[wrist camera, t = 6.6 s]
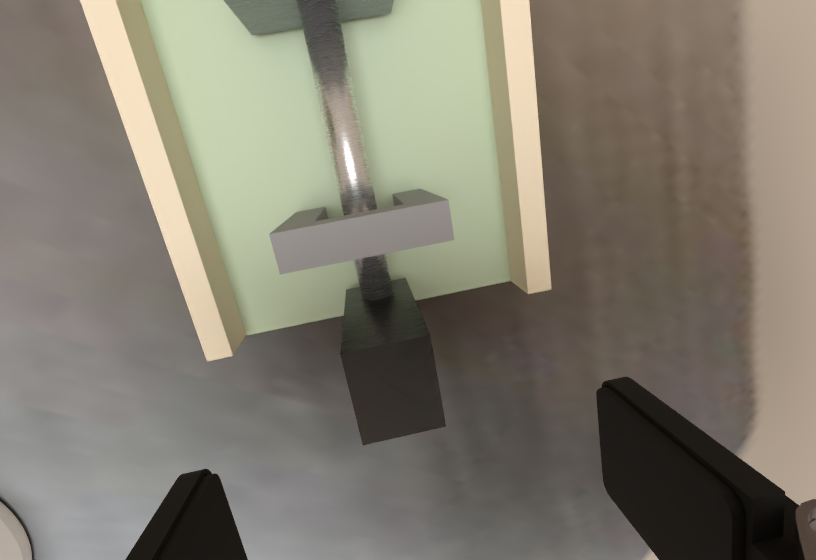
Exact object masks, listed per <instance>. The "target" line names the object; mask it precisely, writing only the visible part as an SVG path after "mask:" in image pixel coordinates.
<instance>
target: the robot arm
mask: <svg viewBox="0 0 816 560" xmlns="http://www.w3.org/2000/svg"><path fill="white" fill-rule="evenodd" d="M597 408H598V421H599V434H600V447H601V460H602V473H603V482H604V486H605V488H606V491H607V493H608V494H609V496H610V497H611V499H612V500H613V501H614V502H615V504H616V505H617V506H618V508H619V509H620V510H621V511H622V513H623V514H624V515H625V517H626V518H627V519H628V520H629V522H630V523H631V524H632V526H633V527H634V528H635V529H636V531H637V532H638V533H639V534H640V536H641V537H642V538H643V540H644V541H645V542H646V543H647V545H648V546H649V547H650V549H651V550H652V551H653V552H654V554H655V555H656V556H657V558H658V559H659V560H816V499H812V500H809V501H806V502H804V503H801V505H800V506H799V505H798V504H796V503H795V502H794V501H792V500H791V499H790V498H788V497H787V496H786V495H785V491H783V490H782V489H781V488H779V487H778V486H777V485H775V484H774V483H772V482H771V481H770V480H768V479H767V478H766V477H764V476H763V475H762V474H760V473H759V472H757V471H756V470H755V469H753V468H752V467H751V466H749V465H748V464H747V463H745V462H744V461H743V460H741V459H740V458H738V457H737V456H736V455H734V454H733V453H732V452H730V451H729V450H728V449H726V448H725V447H723V446H722V445H721V444H719V443H718V442H717V441H715V440H714V439H713V438H711V437H710V436H708V435H707V434H706V433H704V432H703V431H702V430H700V429H699V428H698V427H696V426H695V425H693V424H692V423H691V422H689V421H688V420H687V419H685V418H684V417H683V416H681V415H680V414H679V413H677V412H676V411H674V410H673V409H672V408H670V407H669V406H668V405H666V404H665V403H664V402H662V401H661V400H659V399H658V398H657V397H655V396H654V395H653V394H651V393H650V392H649V391H647V390H646V389H644V388H643V387H642V386H640V385H639V384H638V383H636V382H635V381H634V380H632V379H631V378H629V377H622V378H618V379H613V380H608V381H604V382H603V384H602V388H600V389H598V390H597ZM126 560H248V559H247V556H246V553H245V550H244V548H243V545H242V542H241V539H240V536H239V533H238V530H237V527H236V524H235V521H234V518H233V515H232V512H231V509H230V507H229V504H228V501H227V498H226V495H225V492H224V489H223V486H222V483H221V480H220V478H219V476H218V475H217V474H212V473H211V472H210V471H209V470H208V469H203V470H199V471H194V472H190V473H185V474H182V475H180V476H179V477H178V478H177V480H176V481H175V483H174V485H173V486H172V488H171V489H170V491H169V492H168V494H167V496H166V497H165V499H164V500H163V502H162V503H161V505H160V506H159V508H158V510H157V511H156V513H155V514H154V516H153V517H152V519H151V521H150V522H149V524H148V525H147V527H146V528H145V530H144V532H143V533H142V535H141V536H140V538H139V539H138V541H137V542H136V544H135V546H134V547H133V549H132V550H131V552H130V553H129V555H128V557H127V558H126Z"/></svg>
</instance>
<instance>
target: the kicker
mask: <svg viewBox="0 0 816 560" xmlns="http://www.w3.org/2000/svg"><path fill="white" fill-rule="evenodd" d="M224 2H225V3H226V4H227V5H228V7H229V8H230V9H231V10H232V11H233V13H234V14H235V15H236V16H237V17H238V19H239V20H240V21H241V22H242V24H243V25H244V26H245V27H246V28H247V30H248V31H249V32H250V33H251V35H257V34H264V33H270V32H276V31H282V30H289V29H295V28H301V27H303V31H304V36H305V40H306V45H307V50H308V54H309V59H310V63H311V68H312V72H313V77H314V81H315V86H316V90H317V95H318V100H319V104H320V109H321V113H322V118H323V122H324V127H325V131H326V136H327V141H328V145H329V150H330V154H331V159H332V163H333V168H334V172H335V177H336V182H337V186H338V191H339V195H340V200H341V204H342V209H343V213H344V216H345V215H351V214H356V213H361V212H366V211H371V210H377V206H376V201H375V195H374V190H373V185H372V180H371V175H370V170H369V165H368V160H367V155H366V149H365V144H364V139H363V134H362V129H361V124H360V119H359V114H358V109H357V103H356V98H355V93H354V88H353V83H352V78H351V73H350V68H349V62H348V57H347V52H346V47H345V42H344V37H343V32H342V27H341V22H340V21H345V20H351V19H357V18H364V17H370V16H376V15H382V14H388V13H391V11H392V7H393V3H394V0H224ZM354 263H355V268H356V273H357V277H358V282H359V286H360V287H356V288H351V289H346V295H345V307H344V319H343V331H342V342H341V358H342V362H343V366H344V370H345V374H346V378H347V382H348V386H349V391H350V395H351V399H352V403H353V407H354V411H355V415H356V419H357V423H358V427H359V431H360V435H361V439H362V443H363V445H366V444H371V443H375V442H379V441H384V440H388V439H392V438H397V437H401V436H406V435H410V434H414V433H419V432H423V431H428V430H432V429H436V428H441V427H445V426H446V424H445V418H444V412H443V407H442V401H441V395H440V389H439V384H438V378H437V372H436V366H435V361H434V355H433V349H432V343H431V338H430V334H429V331H428V329H427V327H426V324H425V322H424V320H423V317H422V315H421V313H420V310H419V308H418V306H417V303H416V301H415V298H414V296H413V294H412V291H411V289H410V287H409V284H408V282H407V280H406V278H401V279H396V280H391V277H390V272H389V267H388V262H387V257H386V254H381V255H376V256H371V257H366V258H361V259H356V260H354Z"/></svg>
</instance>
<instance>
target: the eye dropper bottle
mask: <svg viewBox="0 0 816 560" xmlns="http://www.w3.org/2000/svg"><path fill="white" fill-rule="evenodd" d="M0 560H32V552H31V546H30V543H29V540H28V537H27V534H26V532H25V530H24V528H23V527H22V525H21V523H20V522H19V521H18V519H17V518H16V517H15V515H14V514H13V513H12V512H11V511H10V510H9V509H8V508H7V507H6V506H5V505H4V504H3V503H2V502H0Z"/></svg>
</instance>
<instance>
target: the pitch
mask: <svg viewBox="0 0 816 560" xmlns="http://www.w3.org/2000/svg"><path fill="white" fill-rule="evenodd" d="M80 2H81V4H82V7H83V10H84V13H85V16H86V19H87V22H88V24H89V27H90V30H91V33H92V36H93V39H94V41H95V44H96V47H97V50H98V53H99V56H100V58H101V61H102V64H103V67H104V70H105V73H106V76H107V78H108V81H109V84H110V87H111V90H112V93H113V95H114V98H115V101H116V104H117V107H118V110H119V112H120V115H121V118H122V121H123V124H124V127H125V129H126V132H127V135H128V138H129V141H130V144H131V147H132V149H133V152H134V155H135V158H136V161H137V164H138V166H139V169H140V172H141V175H142V178H143V181H144V183H145V186H146V189H147V192H148V195H149V198H150V201H151V203H152V206H153V209H154V212H155V215H156V218H157V220H158V223H159V226H160V229H161V232H162V235H163V237H164V240H165V243H166V246H167V249H168V252H169V254H170V257H171V260H172V263H173V266H174V269H175V272H176V274H177V277H178V280H179V283H180V286H181V289H182V291H183V294H184V297H185V300H186V303H187V306H188V308H189V311H190V314H191V317H192V320H193V323H194V326H195V328H196V331H197V334H198V337H199V340H200V343H201V345H202V348H203V351H204V354H205V357H206V360H207V361H212V360H216V359H221V358H226V357H231V356H233V355H234V354H235V352H236V351H237V349H238V347H239V346H240V344H241V343H242V341H243V340H244V338H245V337H246V336H247V335H251V334H256V333H261V332H266V331H271V330H276V329H281V328H285V327H290V326H295V325H300V324H305V323H310V322H314V321H319V320H324V319H329V318H334V317H339V316H343V315H344V307H345V295H346V289H351V288H356V287H360V286H359V282H358V277H357V273H356V268H355V263H354V260H356V259H361V258H366V257H371V256H376V255H381V254H386V257H387V262H388V267H389V272H390V277H391V280H396V279H401V278H406V280H407V282H408V284H409V287H410V289H411V291H412V294H413V296H414V298H415V301H416V300H421V299H426V298H430V297H435V296H440V295H445V294H450V293H455V292H459V291H464V290H469V289H474V288H479V287H484V286H489V285H493V284H498V283H503V282H508V281H512V282H513V283H514V284H515V285H517V286H518V287H519V288H521V289H522V290H523V291H525V292H526V293H527V294H532V293H536V292H541V291H546V290H551V276H550V263H549V251H548V238H547V225H546V212H545V199H544V186H543V174H542V161H541V148H540V135H539V122H538V109H537V96H536V84H535V71H534V58H533V45H532V32H531V19H530V6H529V0H394V3H393V7H392V11H391V13H388V14H382V15H376V16H370V17H364V18H357V19H351V20H345V21H340V22H341V27H342V32H343V37H344V42H345V47H346V52H347V57H348V62H349V68H350V73H351V78H352V83H353V88H354V93H355V98H356V103H357V109H358V114H359V119H360V124H361V129H362V134H363V139H364V144H365V149H366V155H367V160H368V165H369V170H370V175H371V180H372V185H373V190H374V195H375V201H376V206H377V210H371V211H366V212H361V213H356V214H351V215H345V216H344V213H343V209H342V204H341V200H340V195H339V191H338V186H337V182H336V177H335V172H334V168H333V163H332V159H331V154H330V150H329V145H328V141H327V136H326V131H325V127H324V122H323V118H322V113H321V109H320V104H319V100H318V95H317V90H316V86H315V81H314V77H313V72H312V68H311V63H310V59H309V54H308V50H307V45H306V40H305V36H304V31H303V27H301V28H295V29H289V30H282V31H276V32H270V33H264V34H257V35H251V33H250V32H249V31H248V30H247V28H246V27H245V26H244V25H243V24H242V22H241V21H240V20H239V19H238V17H237V16H236V15H235V14H234V13H233V11H232V10H231V9H230V8H229V7H228V5H227V4H226V3H225V2H224V0H80Z"/></svg>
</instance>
